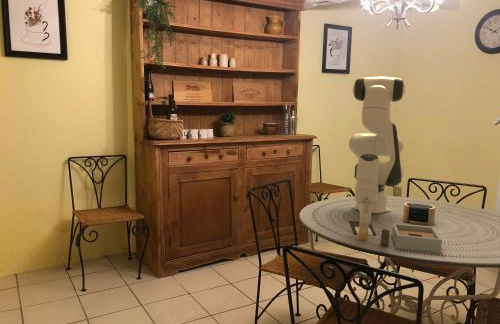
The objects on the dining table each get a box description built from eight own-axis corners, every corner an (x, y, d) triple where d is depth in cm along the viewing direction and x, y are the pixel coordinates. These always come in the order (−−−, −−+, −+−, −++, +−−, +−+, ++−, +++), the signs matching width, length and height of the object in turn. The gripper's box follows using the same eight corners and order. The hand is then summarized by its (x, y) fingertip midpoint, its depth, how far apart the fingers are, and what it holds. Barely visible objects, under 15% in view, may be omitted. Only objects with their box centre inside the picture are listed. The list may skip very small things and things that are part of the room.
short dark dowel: (380, 243, 164) (381, 228, 163) (388, 244, 164) (389, 229, 163) (380, 246, 162) (382, 231, 161) (388, 246, 161) (390, 231, 160)
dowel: (358, 236, 171) (360, 213, 170) (367, 237, 171) (369, 214, 169) (358, 239, 168) (360, 215, 166) (367, 240, 167) (369, 216, 166)
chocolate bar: (369, 221, 191) (376, 234, 173) (369, 223, 191) (375, 236, 173) (349, 220, 192) (353, 233, 174) (349, 222, 192) (353, 235, 175)
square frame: (391, 234, 175) (392, 223, 174) (432, 238, 172) (433, 227, 171) (395, 248, 160) (396, 235, 159) (440, 252, 156) (442, 239, 155)
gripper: (376, 202, 156) (373, 237, 158) (373, 190, 175) (370, 222, 177) (358, 200, 157) (356, 236, 159) (357, 189, 177) (355, 220, 179)
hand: (363, 228), depth 169 cm, fingers open, 7 cm apart
